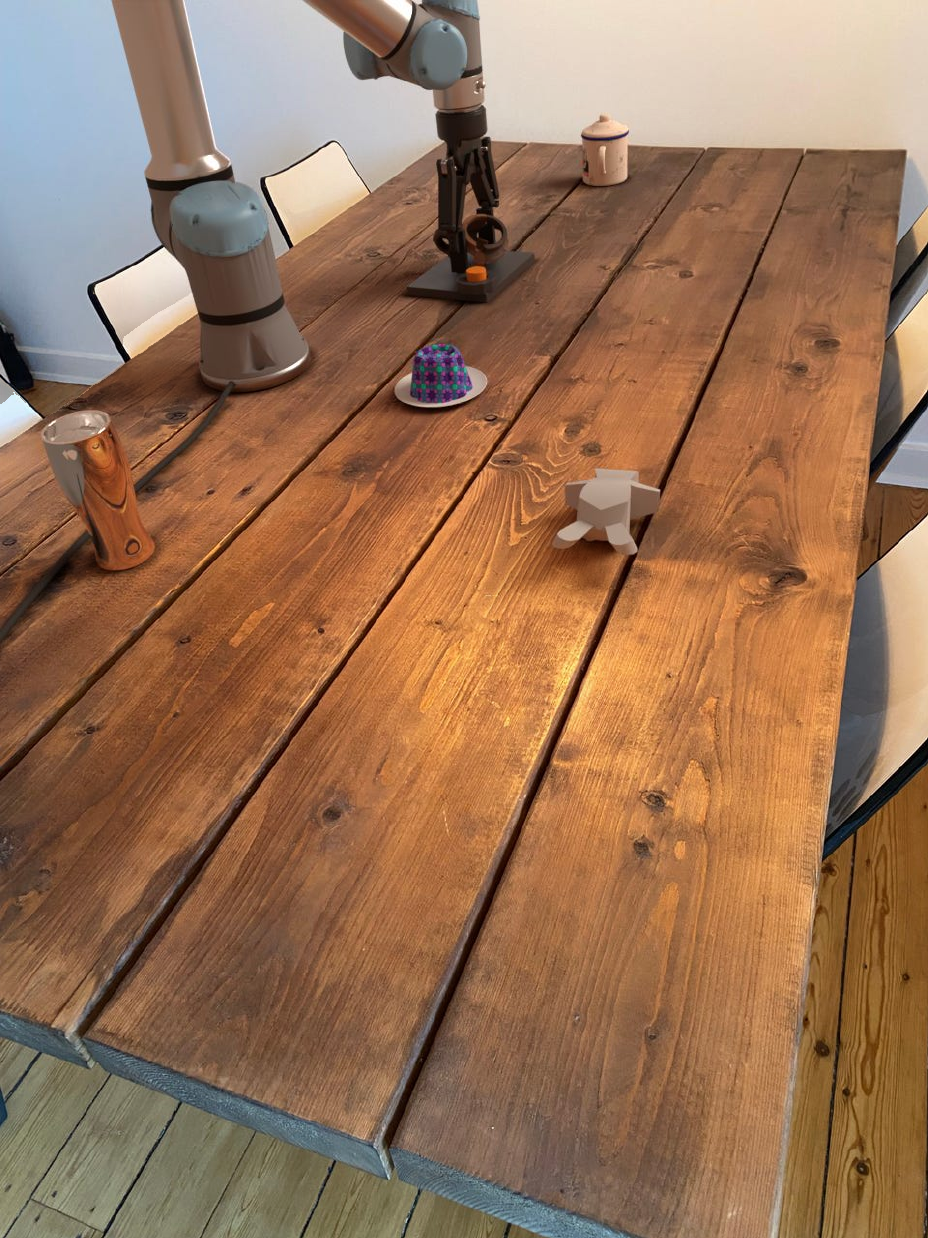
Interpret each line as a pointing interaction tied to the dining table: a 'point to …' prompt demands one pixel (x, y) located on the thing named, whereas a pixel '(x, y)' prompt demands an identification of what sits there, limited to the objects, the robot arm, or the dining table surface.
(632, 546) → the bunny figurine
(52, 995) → the dining table surface
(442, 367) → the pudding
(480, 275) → the button
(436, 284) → the scale
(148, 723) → the dining table surface
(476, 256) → the rusty split ring clamp
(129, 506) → the beer glass
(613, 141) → the teacup with lid
